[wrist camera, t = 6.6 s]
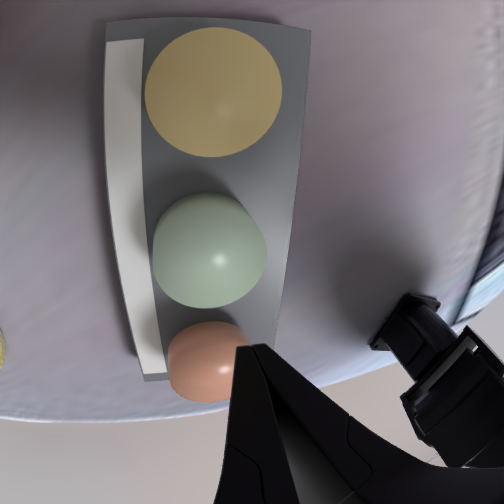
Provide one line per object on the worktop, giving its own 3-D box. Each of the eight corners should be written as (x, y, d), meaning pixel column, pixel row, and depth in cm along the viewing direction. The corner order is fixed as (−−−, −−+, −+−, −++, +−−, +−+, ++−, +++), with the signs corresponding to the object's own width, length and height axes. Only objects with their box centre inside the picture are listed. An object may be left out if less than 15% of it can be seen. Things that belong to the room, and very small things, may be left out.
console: (294, 36, 13) (311, 30, 11) (262, 347, 23) (270, 367, 21) (113, 30, 11) (106, 21, 9) (144, 360, 21) (144, 382, 19)
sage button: (258, 190, 14) (272, 205, 13) (251, 279, 17) (262, 302, 15) (149, 195, 13) (147, 211, 11) (158, 287, 15) (158, 312, 14)
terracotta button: (252, 316, 17) (262, 341, 15) (247, 372, 20) (255, 395, 18) (162, 325, 16) (164, 352, 14) (172, 381, 18) (175, 406, 17)
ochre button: (269, 41, 11) (286, 34, 9) (261, 148, 13) (276, 157, 12) (151, 37, 10) (148, 27, 8) (148, 150, 12) (145, 160, 10)
